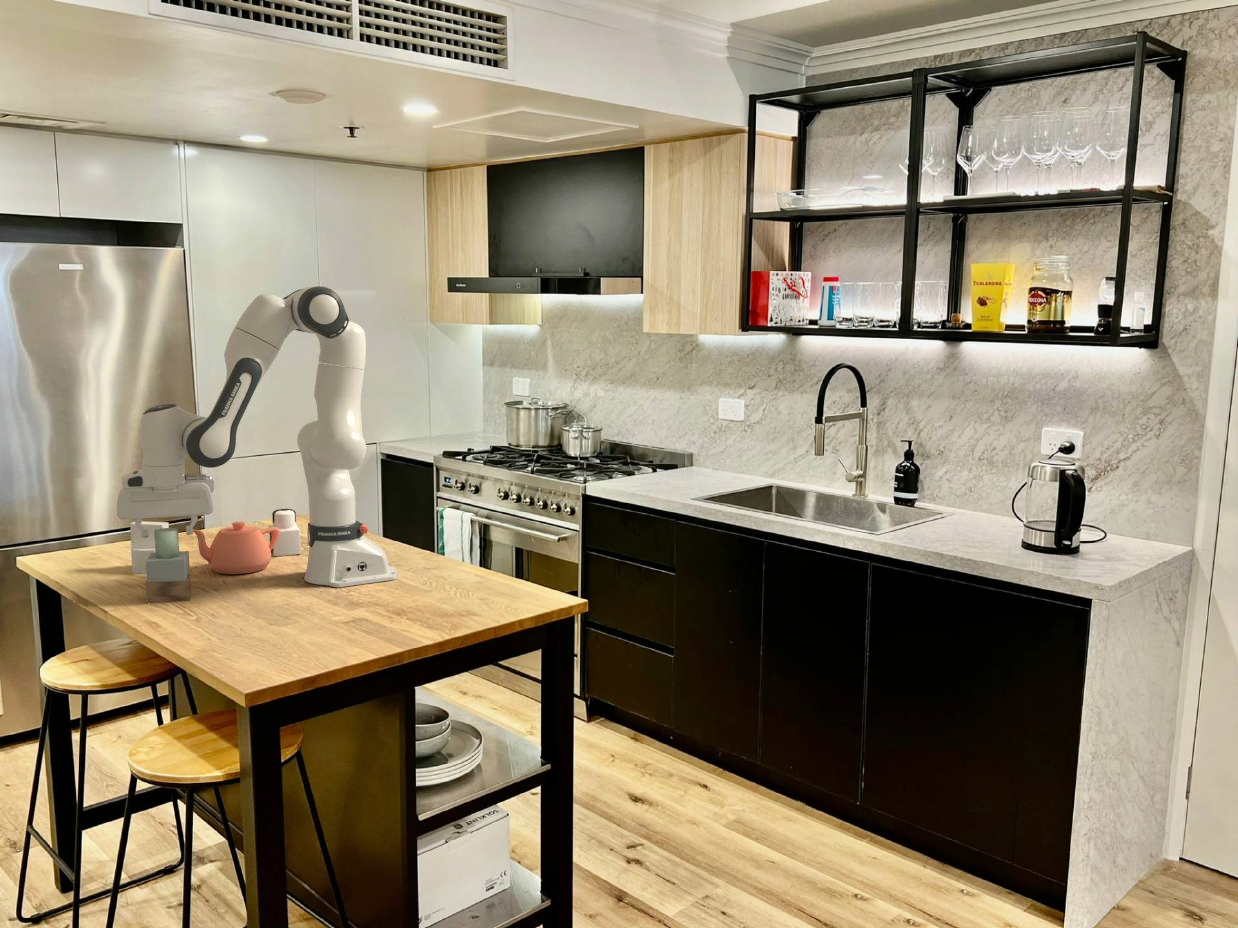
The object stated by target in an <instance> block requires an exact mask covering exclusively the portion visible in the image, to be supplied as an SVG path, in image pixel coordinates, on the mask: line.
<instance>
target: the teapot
mask: <svg viewBox="0 0 1238 928" xmlns="http://www.w3.org/2000/svg"><path fill="white" fill-rule="evenodd" d="M245 524H246V523H245V521H234V522H232V523H231V526H228V527H224V528H221V529H219V530H218V531H217V533H216V534H215V536H214V538H213V540H212V541H211V543H210V547H209V546H208V545H207V543H206V542H207V541H206V537H205V534H204V532H203V531H202V530H199V529H195V528H193V534H195V536H196V538H197V543H198V552H199V555H200V556H201V557H202V559H203V560H205V561H207V564H208V565H209V567H210V568H211V569H213V571H215V573H219V574H222V575H223V574H225V575H241V574H248V573H254V572H255V573H256V572H260V571H262V570H264V569H266V568H267V566H268V565H269V564H270V562H271V561H272V553H271V550H272V549H273V547H274V545H275V544H276V542H277V540H278V538H279V535H280V530H279V528H277V527H271V528H269V527H267V528H264V529H262V530H259V529H258V527H256V526H251V525H245ZM270 532H271V533H272V539H271V542H270V541H269V543H268V541H267V540H266V538H265V536H264V534H267V533H269V534H270Z"/></svg>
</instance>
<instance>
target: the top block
mask: <svg viewBox="0 0 1238 928" xmlns="http://www.w3.org/2000/svg"><path fill="white" fill-rule="evenodd" d="M190 569H191V568H190V551H189V550H185V551H184V550H183V551H180V550H179V556H177V557H173V558H157V557H156V553H151V554H150V556H149V557H148V559H147V560H146V572H147V574H146V581H147V583H152V582H172V581H185V580H186V578H187V576H188V574H189V572H190V573H191V570H190Z"/></svg>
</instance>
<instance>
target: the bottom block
mask: <svg viewBox="0 0 1238 928" xmlns="http://www.w3.org/2000/svg"><path fill="white" fill-rule="evenodd" d="M191 586H192V585H191V571H190V572H189V574H188V576H187V578H186V580H185V581H172V582H152V583H147V580H146V581H145V590H146V604H147V605H152V604H151V603H156V604H166V603H178V602H181V603H182V602H190V601H191V596H192V587H191ZM148 603H150V604H148Z"/></svg>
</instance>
